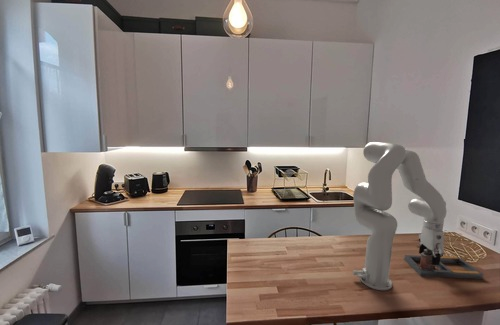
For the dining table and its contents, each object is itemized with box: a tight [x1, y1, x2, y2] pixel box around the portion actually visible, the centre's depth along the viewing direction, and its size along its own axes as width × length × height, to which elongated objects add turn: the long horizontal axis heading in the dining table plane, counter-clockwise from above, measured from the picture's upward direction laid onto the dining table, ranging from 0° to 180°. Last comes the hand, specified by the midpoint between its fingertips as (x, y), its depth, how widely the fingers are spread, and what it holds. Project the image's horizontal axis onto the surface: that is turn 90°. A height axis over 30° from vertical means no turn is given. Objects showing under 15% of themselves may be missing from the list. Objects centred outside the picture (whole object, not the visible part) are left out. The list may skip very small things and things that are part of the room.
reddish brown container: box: [419, 248, 437, 270], centre depth 122 cm, size 8×3×10 cm, turn 105°
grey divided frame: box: [403, 254, 484, 280], centre depth 122 cm, size 26×14×3 cm, turn 86°
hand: (428, 258), depth 122 cm, fingers open, 9 cm apart
